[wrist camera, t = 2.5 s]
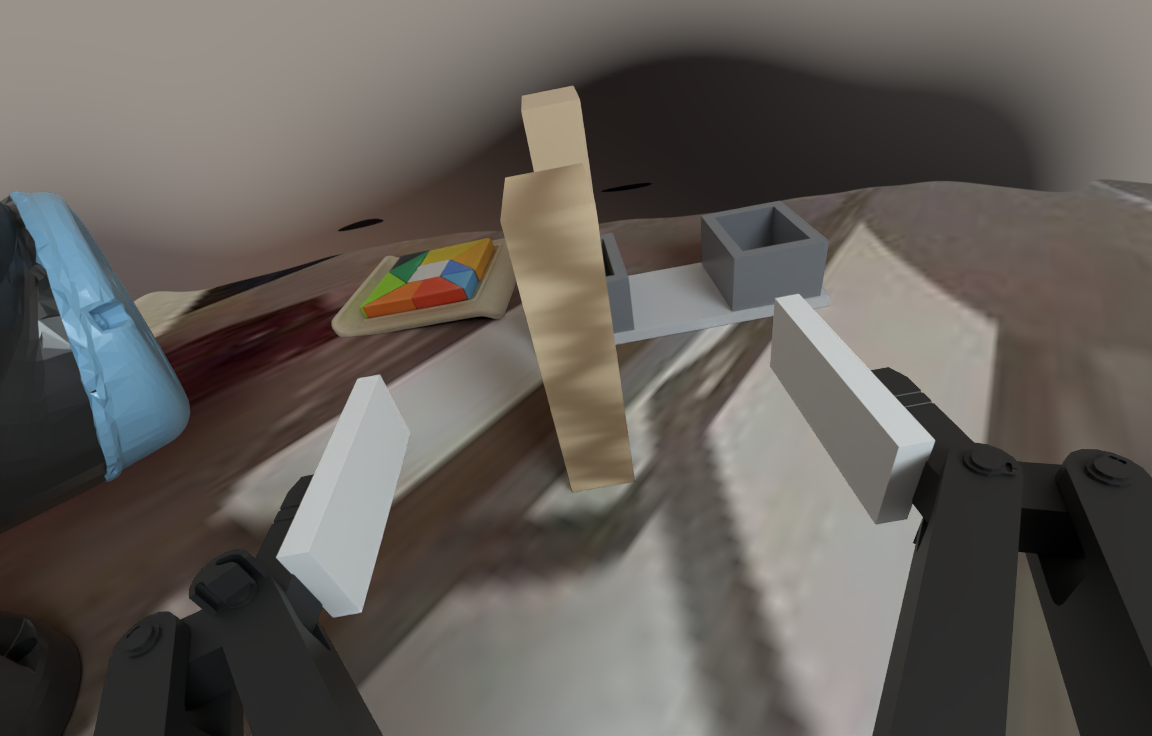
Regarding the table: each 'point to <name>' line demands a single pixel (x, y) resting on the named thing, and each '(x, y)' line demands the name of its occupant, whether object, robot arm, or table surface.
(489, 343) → the table surface
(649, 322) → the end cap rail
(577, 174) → the oak slat
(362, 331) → the wooden puzzle
